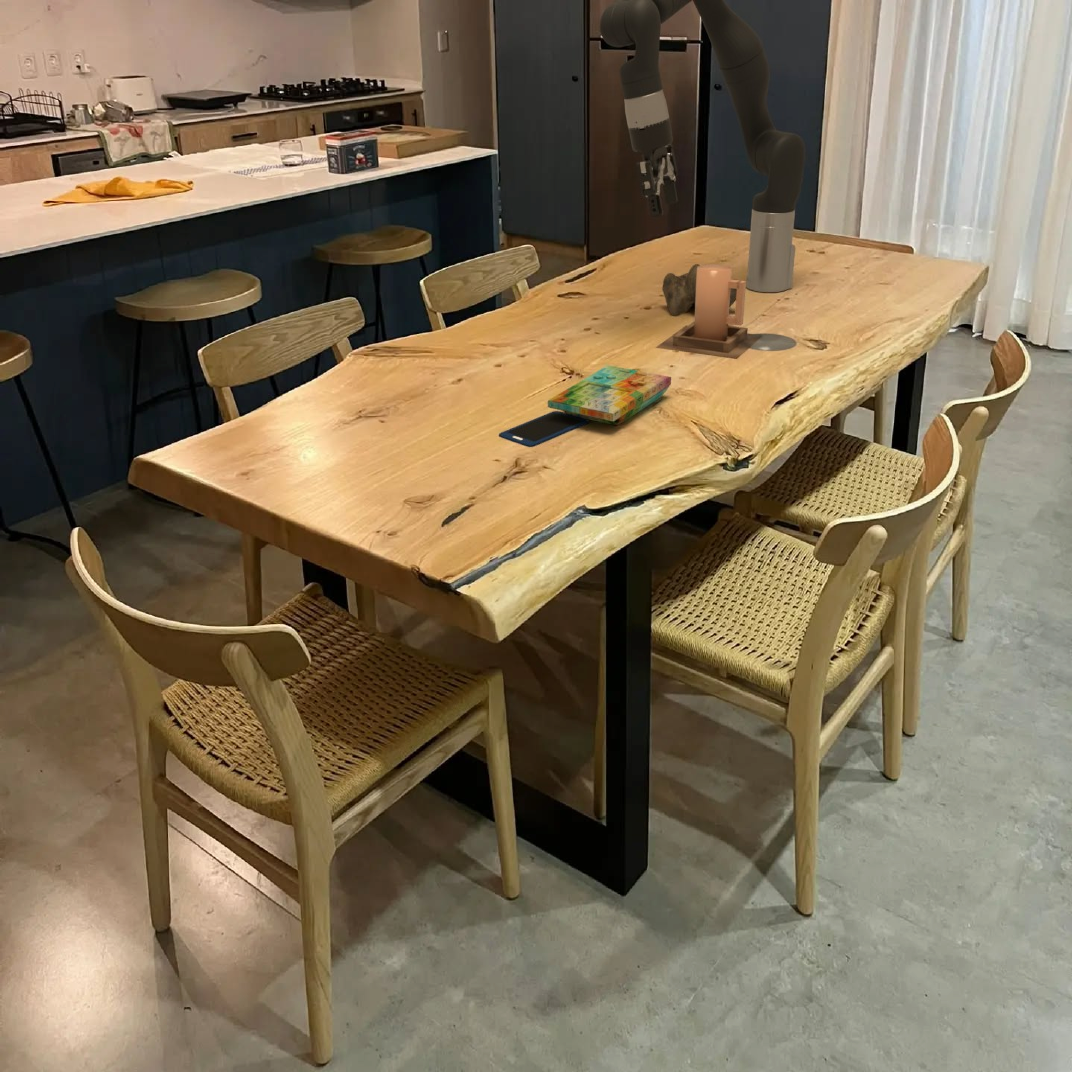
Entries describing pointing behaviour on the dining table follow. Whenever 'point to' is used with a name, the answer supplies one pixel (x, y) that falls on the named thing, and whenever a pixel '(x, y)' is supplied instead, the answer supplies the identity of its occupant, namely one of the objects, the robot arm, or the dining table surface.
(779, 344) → the grey disc
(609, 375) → the puzzle game
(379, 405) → the dining table surface
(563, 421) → the cell phone
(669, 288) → the decorative stone
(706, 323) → the peach orange tall mug
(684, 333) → the holder
